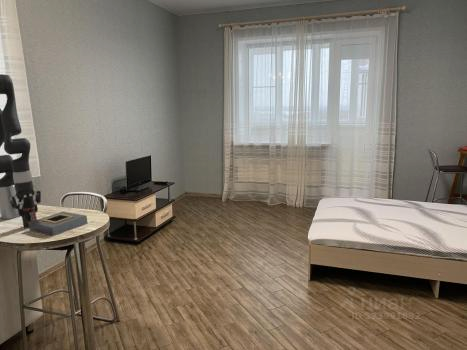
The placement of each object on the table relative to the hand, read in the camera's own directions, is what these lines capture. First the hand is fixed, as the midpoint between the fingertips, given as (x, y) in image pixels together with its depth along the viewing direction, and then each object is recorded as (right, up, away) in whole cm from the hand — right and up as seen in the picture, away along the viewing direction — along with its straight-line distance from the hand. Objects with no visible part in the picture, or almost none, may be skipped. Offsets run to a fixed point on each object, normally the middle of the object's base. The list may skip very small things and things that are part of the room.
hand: (28, 214), depth 167 cm
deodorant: (0, -6, +1) cm, 6 cm away
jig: (+16, -6, -2) cm, 17 cm away
